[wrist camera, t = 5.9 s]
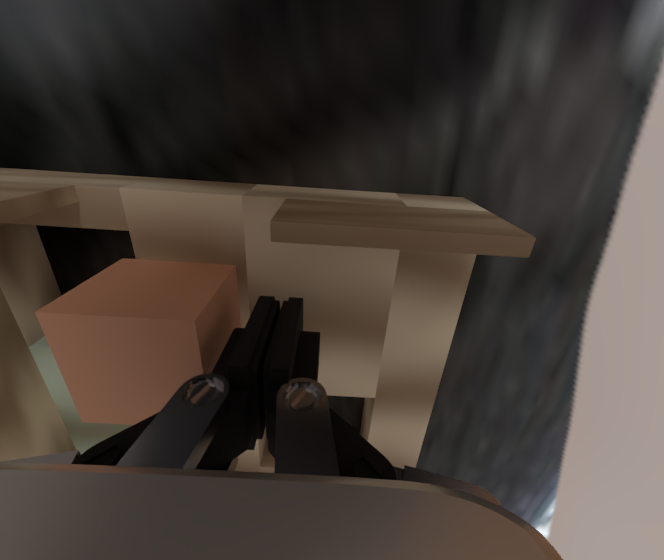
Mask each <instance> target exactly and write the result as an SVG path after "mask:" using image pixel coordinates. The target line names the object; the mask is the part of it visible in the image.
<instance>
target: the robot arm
mask: <svg viewBox="0 0 664 560" xmlns="http://www.w3.org/2000/svg"><path fill="white" fill-rule="evenodd" d="M319 353H320V332H312V331H303V298H296V297H289V299H288V301H283V303H282V306H281V310H280V301H279V300H275V297H274V296H259V298H258V300H257V302H256V305H255V307H254V309H253V311H252V313H251V315H250V318H249V320H248V322H247V324H246V326H245V328H234V330H233V332H232V334H231V335H230V337H229V339H228V341H227V343H226V345H225V347H224V349H223V351H222V353H221V355H220V357H219V359H218V361H217V363H216V365H215V367H214V369H213V371H212V373H206V374H200V375H197V376H195V377H192V378H191V379H189V380H187V381H186V382H185V383H184V384H182V385H181V386H180V387H179V389H178V390H177V391H176V392H175V394H174V395H173V396H172V397H171V399H170V400H169V401H168V402H167V403H166V405H165V406H164V407H163V408H162V410H161V411H160V412H158V413H156V414H154V415H152V416H150V417H148V418H146V419H144V420H142V421H141V422H139V423H137V424H135V425H133V426H131V427H129V428H127V429H125V430H123V431H121V432H119V433H117V434H115V435H113V436H111V437H109V438H107V439H105V440H103V441H101V442H99V443H97V444H96V445H94V446H92V447H91V448H89V449H88V450H86V451H85V452H84V453H83V454H80V452H79V450H74V451H68V452H61V453H55V454H48V455H42V456H35V457H29V458H22V459H16V460H9V461H3V462H0V560H563V559H562V558H561V556H560V555H559V554H558V552H557V551H556V550H555V548H554V547H553V546H552V545H551V544H550V543H549V542H548V541H547V540H546V538H545V537H544V536H543V535H542V534H541V533H540V532H539V531H537V530H536V529H535V528H534V527H532V526H531V525H530V524H529V523H527V522H526V521H525V520H523V519H521V518H520V517H518V516H517V515H515V514H514V513H512V512H510V511H508V510H506V509H504V508H503V507H502V506H501V505H500V504H499V502H498V501H497V500H496V498H495V497H494V496H493V495H492V494H490V493H489V492H488V491H487V490H486V489H484V488H482V487H480V486H477V485H475V484H472V483H468V482H465V481H461V480H457V479H454V478H450V477H446V476H443V475H439V474H436V473H432V472H428V471H425V470H421V469H417V468H414V467H410V466H407V465H404V469H402V468H398V467H395V466H392V464H391V463H390V462H389V460H388V459H387V458H386V457H385V456H384V455H383V454H381V453H380V452H379V451H378V450H377V449H376V448H375V447H373V446H372V445H371V444H370V443H369V442H368V441H367V440H366V439H364V438H363V437H362V436H361V435H360V434H359V433H358V432H356V431H355V430H354V429H353V428H352V427H351V426H350V425H348V424H347V423H346V422H345V421H344V420H343V419H342V418H340V417H339V416H338V415H337V414H336V413H335V412H334V411H332V410H331V409H330V408H329V405H328V398H327V393H326V390H325V388H324V387H323V386H322V385H321V384H320V383H319V382H318V369H319ZM265 427H266V438H267V440H268V451H269V452H270V453H271V455H272V456H273V457H274V458H275V472H274V473H263V472H242V471H235V469H236V466H237V463H238V456H239V455H241V454H242V453H244V452H245V451H246V450H254V448H255V444H256V441H257V439H262V438H263V435H264V431H265Z"/></svg>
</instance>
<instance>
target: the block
mask: <svg viewBox="0 0 664 560" xmlns="http://www.w3.org/2000/svg"><path fill="white" fill-rule="evenodd" d="M35 314H36V316H37V319H38V321H39V323H40V326H41V328H42V330H43V333H44V335H45V337H46V339H47V342H48V344H49V346H50V349H51V351H52V353H53V356H54V358H55V360H56V363H57V365H58V367H59V370H60V372H61V374H62V377H63V379H64V381H65V384H66V386H67V388H68V390H69V393H70V395H71V397H72V400H73V402H74V404H75V407H76V409H77V411H78V414H79V416H80V418H81V421H82V422H86V423H105V424H125V425H135V424H137V423H139V422H141V421H142V420H144V419H146V418H148V417H150V416H152V415H154V414H156V413H158V412H160V411H161V410H162V408H163V407H164V406H165V405H166V403H167V402H168V401H169V400H170V399H171V397H172V396H173V395H174V394H175V392H176V391H177V390H178V389H179V387H180V386H181V385H182V384H184V383H185V382H186V381H187V380H189V379H191V378H192V377H195V376H197V375H200V374H206V373H212V371H213V369H214V367H215V365H216V363H217V361H218V359H219V357H220V355H221V353H222V351H223V349H224V347H225V345H226V343H227V341H228V339H229V337H230V335H231V334H232V332H233V330H234V328H241V319H240V307H239V296H238V284H237V273H236V265H228V264H211V263H194V262H176V261H159V260H142V259H126V258H122V259H121V260H119V261H117V262H116V263H114V264H112V265H111V266H109V267H108V268H106V269H104V270H103V271H101V272H99V273H98V274H96V275H94V276H93V277H91V278H90V279H88V280H86V281H85V282H83V283H81V284H80V285H78V286H76V287H75V288H73V289H72V290H70V291H68V292H67V293H65V294H63V295H62V296H60V297H58V298H57V299H55V300H54V301H52V302H50V303H49V304H47V305H45V306H44V307H42V308H40V309H39V310H37V311H36V312H35Z"/></svg>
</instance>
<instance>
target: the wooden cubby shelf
mask: <svg viewBox="0 0 664 560" xmlns="http://www.w3.org/2000/svg"><path fill="white" fill-rule="evenodd" d="M36 225H42V226H58V227H74V228H91V229H107V230H123V231H129V233H130V237H131V241H132V245H133V250H134V254H135V258H136V259H142V260H159V261H176V262H194V263H211V264H228V265H236V273H237V284H238V296H239V307H240V319H241V328H245V326H246V324H247V322H248V320H249V318H250V315H251V313H252V311H253V309H254V307H255V305H256V302H257V300H258V298H259V296H274V297H275V300H279V301H280V310H281V306H282V303H283V301H288V299H289V297H296V298H303V331H312V332H320V353H319V369H318V382H319V383H320V384H321V385H322V386H323V387H324V388H325V390H326V393H327V395H329V396H348V397H365V402H364V409H363V416H362V422H361V429H360V435H361V436H362V437H363V438H364V439H366V440H367V441H368V442H369V443H370V444H371V445H372V446H373V447H375V448H376V449H377V450H378V451H379V452H380V453H381V454H383V455H384V456H385V457H386V458H387V459H388V460H389V462H390V463H391V464H392V466H395V467H398V468H402V469H404V465H407V466H410V467H414V468H416V464H417V461H418V457H419V454H420V450H421V447H422V443H423V440H424V436H425V433H426V429H427V426H428V422H429V419H430V415H431V412H432V408H433V405H434V401H435V398H436V394H437V391H438V387H439V384H440V380H441V377H442V373H443V370H444V366H445V363H446V359H447V356H448V352H449V349H450V345H451V342H452V338H453V335H454V331H455V328H456V324H457V321H458V317H459V314H460V310H461V307H462V303H463V300H464V296H465V293H466V289H467V286H468V282H469V279H470V275H471V272H472V268H473V265H474V261H475V258H476V254H477V255H494V256H510V257H526V258H529V256H530V253H531V251H532V248H533V245H534V243H535V240H536V237H534V236H532V235H531V234H529V233H527V232H525V231H523V230H521V229H520V228H518V227H516V226H514V225H512V224H511V223H509V222H507V221H505V220H503V219H502V218H500V217H498V216H496V215H494V214H493V213H491V212H489V211H487V210H485V209H484V208H482V207H480V206H478V205H476V204H474V203H473V202H471V201H469V200H467V199H465V198H463V197H448V196H432V195H417V194H401V193H386V192H370V191H355V190H339V189H324V188H308V187H292V186H277V185H261V184H246V183H230V182H215V181H199V180H184V179H168V178H153V177H137V176H122V175H106V174H91V173H75V172H59V171H44V170H28V169H13V168H0V462H3V461H9V460H16V459H22V458H29V457H35V456H42V455H48V454H55V453H61V452H68V451H74V450H79V452H80V454H83V453H84V452H85V451H86V450H88V449H89V448H91V447H92V446H94V445H96V444H97V443H99V442H101V441H103V440H105V439H107V438H109V437H111V436H113V435H115V434H117V433H119V432H121V431H123V430H125V429H127V428H129V427H131V426H133V425H125V424H105V423H86V422H82V421H81V418H80V416H79V414H78V411H77V409H76V407H75V404H74V402H73V400H72V397H71V395H70V393H69V390H68V388H67V386H66V384H65V381H64V379H63V377H62V374H61V372H60V370H59V367H58V365H57V363H56V360H55V358H54V356H53V353H52V351H51V349H50V346H49V344H48V342H47V339H46V337H45V335H44V333H43V330H42V328H41V326H40V323H39V321H38V319H37V316H36V314H35V312H36V311H37V310H39V309H40V308H42V307H44V306H45V305H47V304H49V303H50V302H52V301H54V300H55V299H57V298H58V297H60V296H62V295H61V292H60V290H59V287H58V284H57V281H56V279H55V276H54V273H53V271H52V268H51V265H50V263H49V260H48V257H47V255H46V252H45V249H44V247H43V244H42V241H41V239H40V236H39V233H38V231H37V228H36ZM235 471H242V472H263V473H274V472H275V458H274V457H273V456H272V455H271V453H270V452H269V451H268V440H267V438H266V427H265V431H264V435H263V438H262V439H257V441H256V444H255V448H254V450H246V451H245V452H244V453H242V454H241V455H239V456H238V463H237V466H236V469H235Z"/></svg>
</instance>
